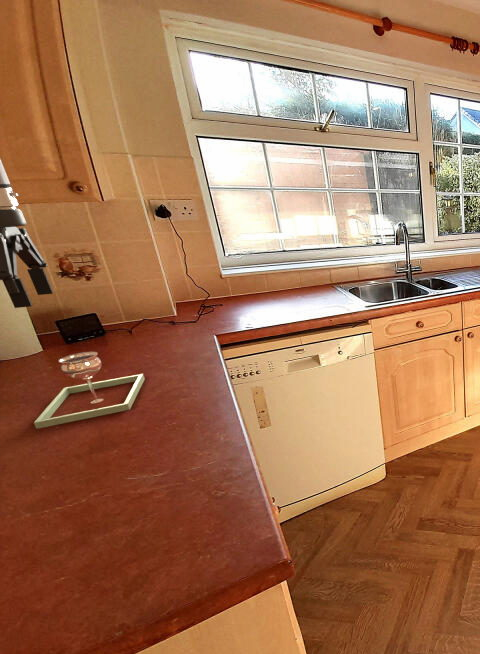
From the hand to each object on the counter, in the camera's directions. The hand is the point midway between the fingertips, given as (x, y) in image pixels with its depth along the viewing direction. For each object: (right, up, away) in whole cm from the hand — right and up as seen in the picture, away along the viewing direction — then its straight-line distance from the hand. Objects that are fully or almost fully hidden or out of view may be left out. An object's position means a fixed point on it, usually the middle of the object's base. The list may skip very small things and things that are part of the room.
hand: (35, 300), depth 103 cm
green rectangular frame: (+16, -26, 0) cm, 30 cm away
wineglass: (+16, -25, 0) cm, 30 cm away
